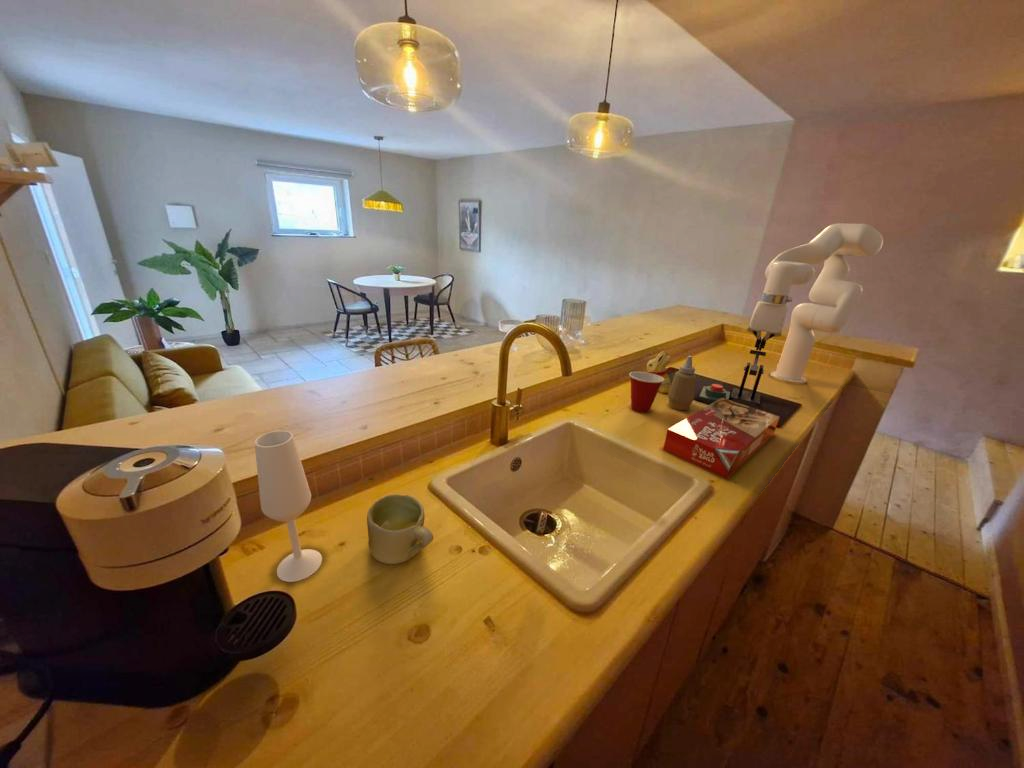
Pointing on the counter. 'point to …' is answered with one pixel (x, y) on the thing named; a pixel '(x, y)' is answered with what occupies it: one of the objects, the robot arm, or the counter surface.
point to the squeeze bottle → (683, 386)
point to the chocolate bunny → (660, 370)
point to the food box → (721, 436)
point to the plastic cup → (644, 390)
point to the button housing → (713, 394)
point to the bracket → (747, 395)
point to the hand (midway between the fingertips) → (758, 349)
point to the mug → (397, 529)
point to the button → (716, 387)
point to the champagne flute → (285, 497)
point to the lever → (755, 361)
